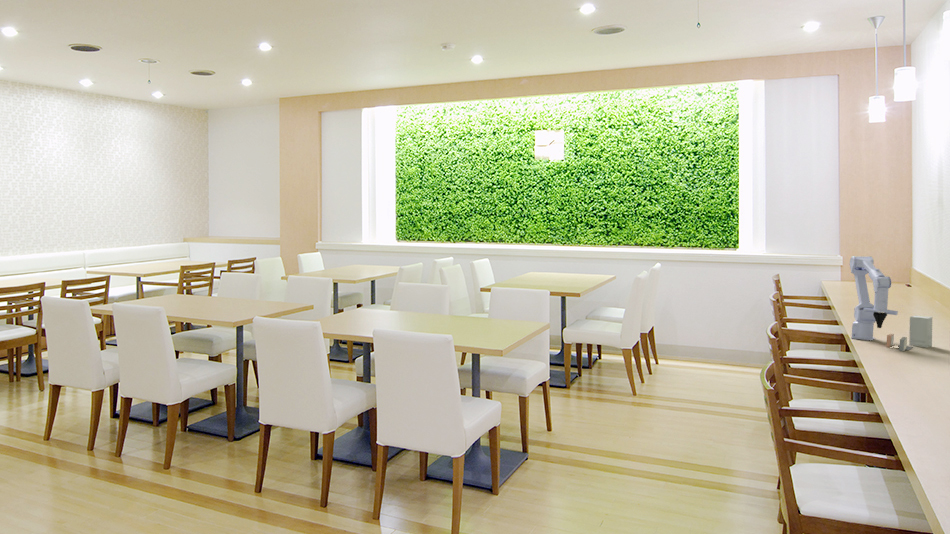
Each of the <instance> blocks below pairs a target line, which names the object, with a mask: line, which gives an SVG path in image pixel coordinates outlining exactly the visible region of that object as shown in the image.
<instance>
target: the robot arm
mask: <svg viewBox="0 0 950 534" xmlns="http://www.w3.org/2000/svg"><path fill="white" fill-rule="evenodd" d="M874 261H875V260H874V258H873V257H872V256H870V255H868V256H864V255H863V256H862V255H861V256H858V255H857V256H855V255H852V256H851V257H850V259H849V269H850V273H851V274H853V276H854V281H855V287H856V288H855V289H856V293H857V297H858V298H857V299H858V304H857V305H856V306H855V307H854V313H853V316H854V317H853V318H854V320H853V323H852V325H851V337H850V339H856V340H864V341H869V340H870V341H871V340H872V341H874V340H875V339H876V337H874V324H876V327H877V329H882V327H883V324H884V322H885V320H886V318H887V316H888V315H891V316H892V315H893V316H898V310H893V309H888V302H889V289H890V288H891V287H892V279H891V277H890V276H886V275H885V274H884V272H882V271H881V270H880V268H876V266H875V265H874ZM866 275H868V278H870V279H871V281H872V285H873V292H874V303H873V304H872V303H871V302H870V296H869V289H868V285H867V278H866ZM873 339H874V340H873ZM872 341H871V342H872Z"/></svg>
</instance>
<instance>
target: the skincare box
mask: <svg viewBox="0 0 950 534" xmlns="http://www.w3.org/2000/svg"><path fill="white" fill-rule="evenodd" d="M908 342H909V343H908V344H909V346H912V345H913V346H912V347H920V348H927V349H928V348H931V346H933V317H932V316H925V315H924V316H923V315H912V316H909V341H908Z"/></svg>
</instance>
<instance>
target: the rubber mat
mask: <svg viewBox="0 0 950 534" xmlns="http://www.w3.org/2000/svg"><path fill="white" fill-rule="evenodd" d="M897 345H898V347H899V348H898V349H897V350H899V349H900V344H897ZM913 348H914V346H910V345H909V346H908V345H907V347H906V350H905V351H910V350H912V349H913Z"/></svg>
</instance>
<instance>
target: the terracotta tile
mask: <svg viewBox="0 0 950 534" xmlns="http://www.w3.org/2000/svg"><path fill="white" fill-rule="evenodd" d="M894 335H895V334H894V333H889V334H887V335H886V346H887V347H886V346H885V347H886V348H890V347H892V346H893V345H894V342H895V341H894V339H895V336H894Z"/></svg>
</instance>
